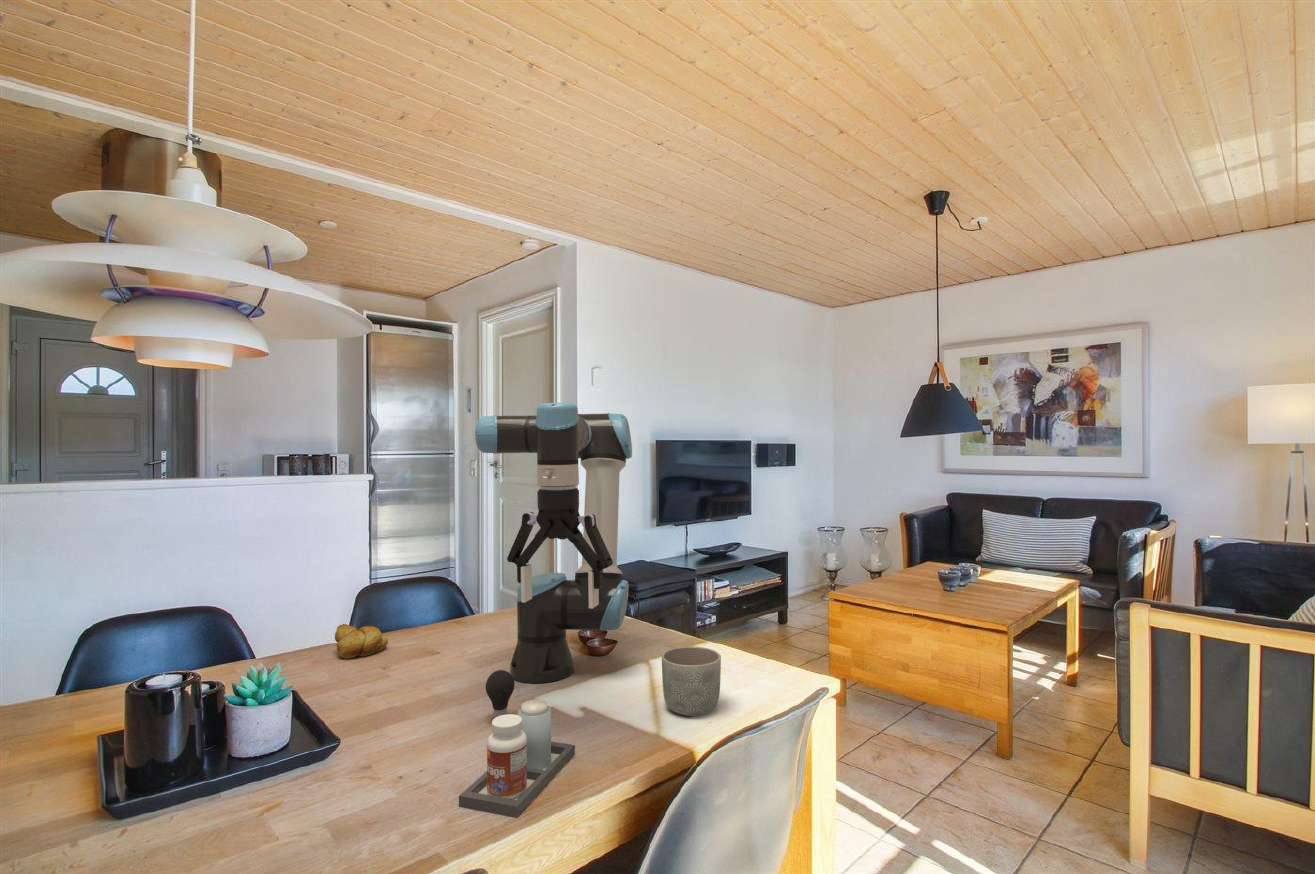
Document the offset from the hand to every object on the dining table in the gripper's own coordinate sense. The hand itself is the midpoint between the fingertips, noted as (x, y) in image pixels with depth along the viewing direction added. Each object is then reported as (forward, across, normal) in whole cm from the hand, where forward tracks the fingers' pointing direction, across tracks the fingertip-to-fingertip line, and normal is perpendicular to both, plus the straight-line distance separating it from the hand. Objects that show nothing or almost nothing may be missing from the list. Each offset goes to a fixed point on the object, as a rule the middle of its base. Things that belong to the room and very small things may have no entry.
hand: (559, 603), depth 115 cm
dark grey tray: (+26, -1, -13) cm, 29 cm away
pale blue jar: (+26, -1, -8) cm, 27 cm away
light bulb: (+26, -16, +5) cm, 31 cm away
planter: (+27, +19, +23) cm, 40 cm away
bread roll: (+28, -74, +30) cm, 85 cm away
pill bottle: (+25, -1, -17) cm, 31 cm away
